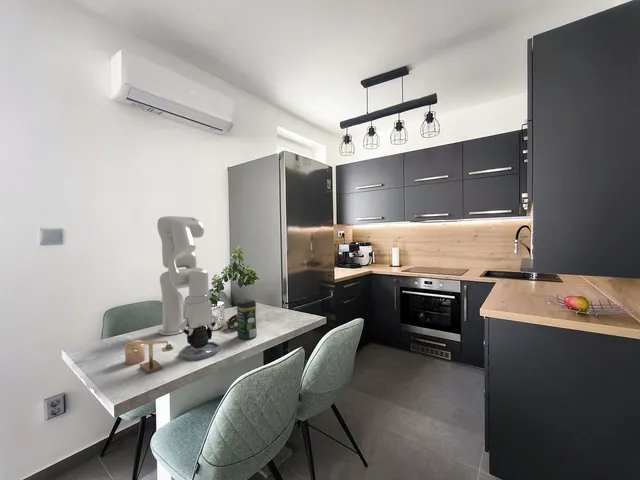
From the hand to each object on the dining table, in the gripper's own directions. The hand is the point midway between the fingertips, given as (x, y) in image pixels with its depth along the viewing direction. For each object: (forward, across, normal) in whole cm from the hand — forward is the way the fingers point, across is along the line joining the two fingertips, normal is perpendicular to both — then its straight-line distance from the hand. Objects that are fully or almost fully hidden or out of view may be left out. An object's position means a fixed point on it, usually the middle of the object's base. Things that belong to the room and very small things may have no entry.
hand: (199, 340), depth 117 cm
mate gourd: (+3, 0, 0) cm, 3 cm away
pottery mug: (+5, -28, -17) cm, 33 cm away
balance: (+5, +18, 0) cm, 19 cm away
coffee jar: (+5, -24, -1) cm, 24 cm away
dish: (+5, 0, 0) cm, 5 cm away
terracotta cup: (+5, +20, -12) cm, 24 cm away
